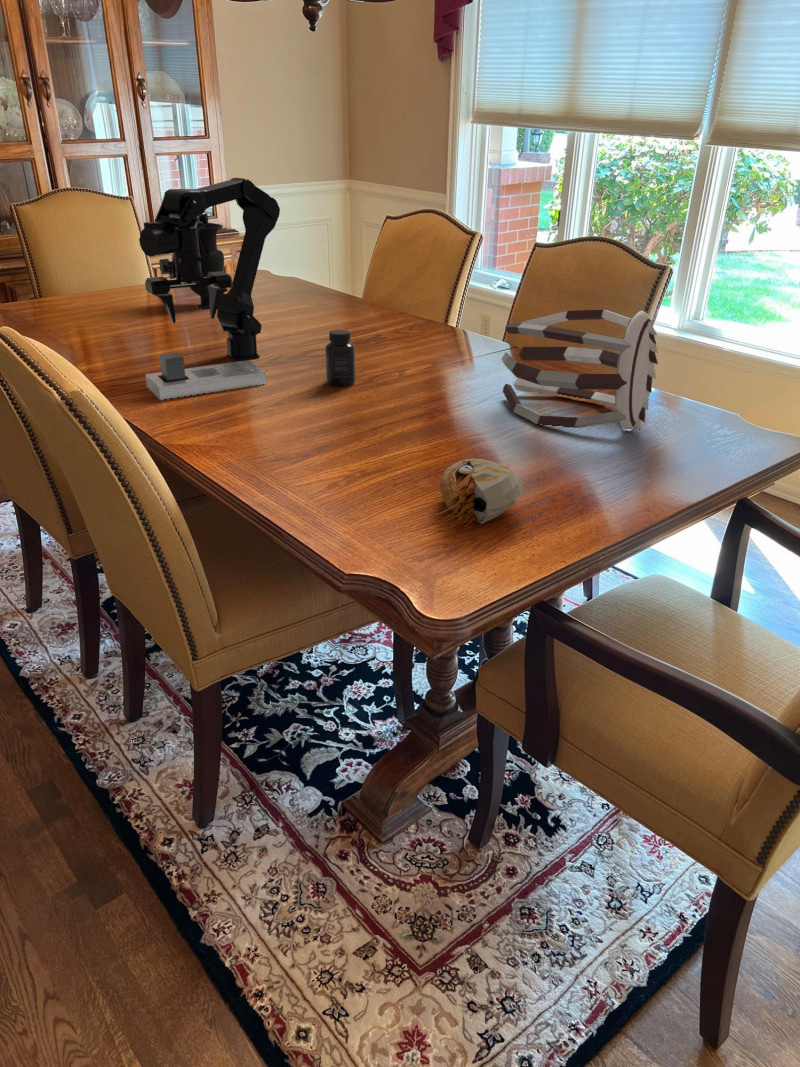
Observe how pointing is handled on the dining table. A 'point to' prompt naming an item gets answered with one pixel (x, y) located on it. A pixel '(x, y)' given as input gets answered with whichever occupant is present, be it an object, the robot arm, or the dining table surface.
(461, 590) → the dining table surface
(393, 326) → the dining table surface
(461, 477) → the nautilus
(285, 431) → the dining table surface
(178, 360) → the graphite block
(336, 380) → the supplement bottle
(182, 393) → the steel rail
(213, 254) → the urn
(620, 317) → the decorative basket
